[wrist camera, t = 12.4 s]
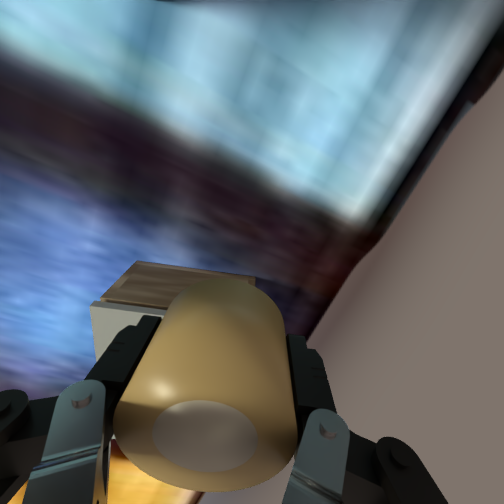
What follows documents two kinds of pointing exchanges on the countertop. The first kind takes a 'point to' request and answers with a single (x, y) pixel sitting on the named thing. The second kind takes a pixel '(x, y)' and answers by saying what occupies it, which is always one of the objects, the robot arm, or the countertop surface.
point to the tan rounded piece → (212, 392)
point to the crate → (159, 284)
